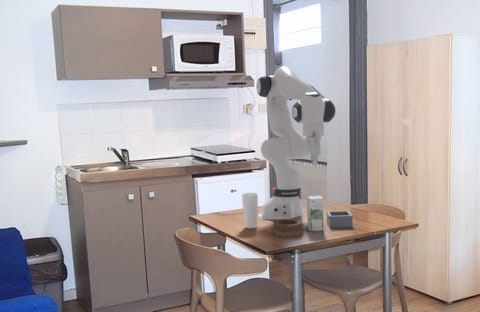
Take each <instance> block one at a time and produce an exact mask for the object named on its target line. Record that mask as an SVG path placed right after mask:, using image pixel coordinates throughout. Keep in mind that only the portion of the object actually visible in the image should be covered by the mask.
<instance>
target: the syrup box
mask: <svg viewBox="0 0 480 312" xmlns="http://www.w3.org/2000/svg"><path fill="white" fill-rule="evenodd" d="M306 207H307V208H306V209H307V210H306V211H307V229H308V230H309V231H310V233H311V232H313V233H314V232H324V198H323V197H322V196H321V195H307V196H306Z"/></svg>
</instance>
